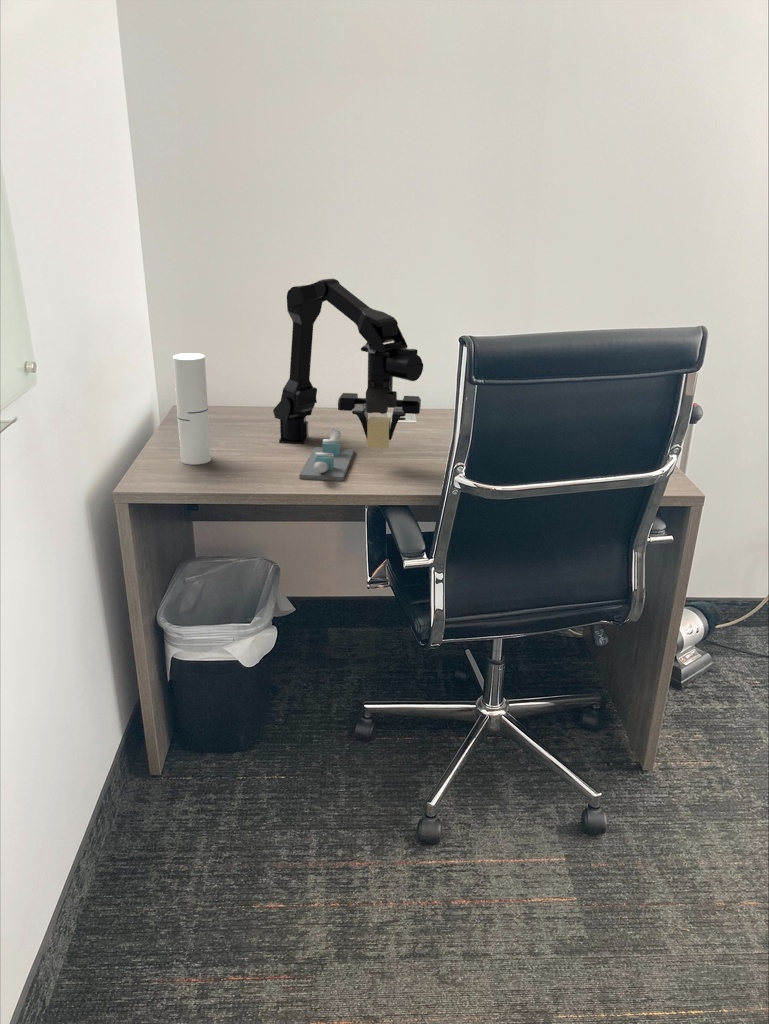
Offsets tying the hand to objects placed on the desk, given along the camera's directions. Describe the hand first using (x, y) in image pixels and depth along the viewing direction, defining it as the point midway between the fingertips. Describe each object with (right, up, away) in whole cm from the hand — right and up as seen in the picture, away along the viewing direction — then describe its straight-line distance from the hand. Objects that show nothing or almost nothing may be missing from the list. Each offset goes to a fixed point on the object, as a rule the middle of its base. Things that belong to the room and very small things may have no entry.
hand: (379, 438), depth 189 cm
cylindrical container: (-44, -5, +6) cm, 45 cm away
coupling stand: (-12, -6, +4) cm, 14 cm away
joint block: (0, -1, +1) cm, 1 cm away
